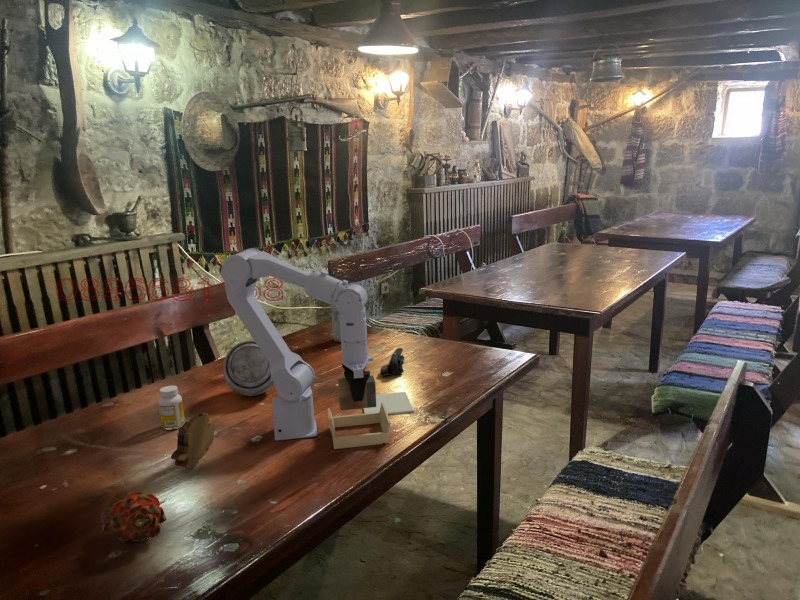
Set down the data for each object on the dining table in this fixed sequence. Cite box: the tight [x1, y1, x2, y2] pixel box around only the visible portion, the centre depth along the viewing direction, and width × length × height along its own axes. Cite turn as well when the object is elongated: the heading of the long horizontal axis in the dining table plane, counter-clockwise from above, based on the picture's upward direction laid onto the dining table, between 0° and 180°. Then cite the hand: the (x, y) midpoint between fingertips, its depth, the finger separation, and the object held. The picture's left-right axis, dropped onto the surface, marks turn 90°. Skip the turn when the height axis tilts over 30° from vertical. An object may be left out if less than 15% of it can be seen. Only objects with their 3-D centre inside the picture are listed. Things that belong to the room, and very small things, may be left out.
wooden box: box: [326, 403, 392, 450], centre depth 138 cm, size 13×11×5 cm
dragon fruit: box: [101, 490, 167, 543], centre depth 104 cm, size 8×8×12 cm
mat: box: [362, 391, 415, 416], centre depth 154 cm, size 12×12×1 cm
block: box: [337, 375, 377, 411], centre depth 136 cm, size 8×4×6 cm, turn 100°
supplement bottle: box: [157, 385, 186, 428], centre depth 145 cm, size 5×5×10 cm
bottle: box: [329, 304, 341, 343], centre depth 205 cm, size 7×7×20 cm
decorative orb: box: [222, 339, 275, 397], centre depth 163 cm, size 15×14×15 cm
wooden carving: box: [170, 412, 216, 469], centre depth 128 cm, size 16×5×10 cm, turn 178°
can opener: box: [380, 347, 405, 376], centre depth 180 cm, size 18×7×6 cm, turn 169°
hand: (357, 396), depth 136 cm, fingers closed on block, 4 cm apart
